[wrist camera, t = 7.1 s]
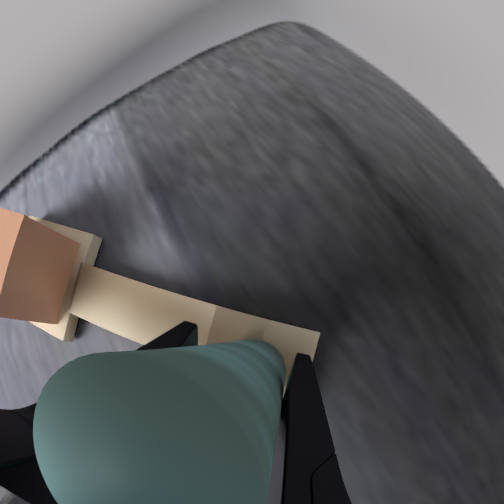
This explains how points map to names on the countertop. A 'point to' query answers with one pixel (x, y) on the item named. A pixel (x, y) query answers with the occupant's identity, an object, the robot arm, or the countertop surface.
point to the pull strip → (161, 396)
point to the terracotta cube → (33, 268)
